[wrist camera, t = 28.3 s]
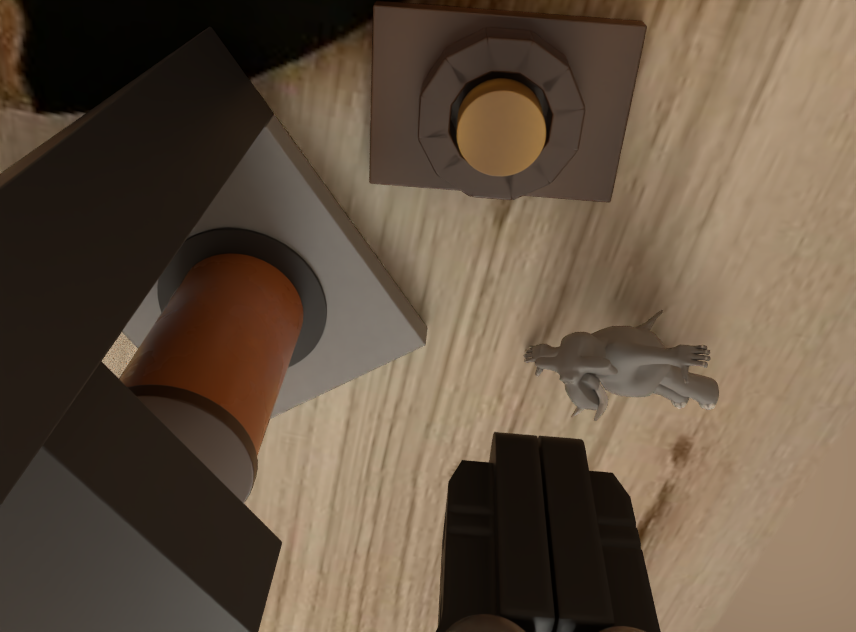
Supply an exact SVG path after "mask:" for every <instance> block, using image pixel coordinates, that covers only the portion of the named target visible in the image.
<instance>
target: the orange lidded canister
mask: <svg viewBox="0 0 856 632" xmlns="http://www.w3.org/2000/svg"><path fill="white" fill-rule="evenodd" d="M302 324H303V306H302V303H301V299H300V297H299V294H298V292H297V291H296V289H295V287H294V286H293V284H292V283H291V282H290V280H289V279H288V278H287V277H286V276H285V275H284V274H283V273H282V272H280V271H279V270H278V269H277V268H275V267H274V266H272V265H271V264H269V263H267V262H265V261H263V260H261V259H258V258H255V257H252V256H248V255H243V254H229V253H228V254H220V255H215V256H211V257H209V258H206V259H204V260H202V261H200V262H198V263H197V264H196V265H194V266H193V267H192V268H191V269H190V270H189V271H188V272H187V274H186V275H185V277H184V278H183V280H182V281H181V283H180V285H179V286H178V288H177V289H176V291H175V292H174V294H173V295H172V297H171V299H170V300H169V302H168V303H167V305H166V306H165V308H164V309H163V311H162V313H161V314H160V316H159V317H158V319H157V320H156V322H155V323H154V325H153V327H152V328H151V330H150V331H149V333H148V334H147V336H146V337H145V339H144V341H143V342H142V344H141V345H140V347H139V348H138V350H137V351H136V353H135V355H134V356H133V358H132V359H131V361H130V362H129V364H128V365H127V367H126V369H125V370H124V372H123V373H122V375H121V376H120V378H119V380H120V381H121V382H122V383H123V384H124V385H125V386H126V387H127V388H128V389H129V390H130V391H131V392H132V393H133V394H134V395H135V396H137V397H138V398H139V399H140V400H141V401H142V402H143V403H144V404H145V405H146V406H147V407H148V408H149V409H150V410H151V411H152V412H153V413H154V414H155V415H156V416H157V417H158V418H159V419H160V420H161V421H162V422H163V423H164V424H165V425H166V426H167V427H168V428H169V429H170V430H171V431H172V432H173V433H174V434H175V435H176V436H177V437H178V438H179V439H180V440H181V441H182V442H183V443H184V444H185V445H186V446H187V447H188V448H189V449H190V450H191V451H192V452H193V453H194V454H195V455H196V456H197V457H198V458H199V459H200V460H201V461H202V462H203V463H204V464H205V465H206V466H207V467H208V468H209V469H210V470H211V471H212V472H213V473H214V474H215V475H216V476H217V477H218V478H219V479H220V480H221V481H222V482H223V483H224V484H225V485H226V486H227V487H228V488H229V489H230V490H231V491H232V492H233V493H234V494H235V495H236V496H237V497H238V498H239V499H240V500H241V501H242V502H243V503H244V502H245V501H246V500H247V498H248V496H249V495H250V493H251V490H252V488H253V485H254V482H255V479H256V475H257V470H258V459H257V455H258V452H259V449H260V447H261V444H262V441H263V438H264V435H265V432H266V429H267V426H268V423H269V421H270V418H271V415H272V412H273V409H274V406H275V403H276V400H277V397H278V394H279V392H280V389H281V386H282V383H283V380H284V377H285V374H286V371H287V368H288V366H289V363H290V360H291V357H292V354H293V351H294V348H295V345H296V342H297V339H298V337H299V334H300V331H301V328H302Z"/></svg>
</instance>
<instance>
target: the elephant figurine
mask: <svg viewBox="0 0 856 632" xmlns="http://www.w3.org/2000/svg"><path fill="white" fill-rule="evenodd" d="M662 312H663V310H661V311H659V312H658V313H656V314H655V315H654V316H653V317H652V318H650V319H649V320H648V321H647V322H646V323H644V324H642V325H640V326H639V327H637V328H635V327H631V326H612V327H607V328H604V329H601V330H599V331H597V332H595V333H593V334H589V333H587V332H575V333H572V334H569V335H567V336H565V337H564V338H563V339H562V341H561V345H560V346H559V347H551V346H550V345H547V344H539V345H536V346H529V348H530V350H525V352H526V353H528V354H524V357H525V358H526V359H524V361H525V362H526V363H528V362H535V366H537V369H536V376H539V375H540V374H541V372H542V371H543V369H547V370H553V371H556V372H557V373H558V374H559V375H560V380H561V381H563V383H565V390H566V392H567V394H568V396H569V397H570V399H571V401H572V402H573V403H574V404H575V405H576V406H577V409H576V410H575V411H574V413H573V414H572V416H571V417H573V416H575V415H577V414H579V413H580V412H582V411H583V410H584V409H590V410H597V412H596V415H595V418H594V420H595V421H597V420H598V418H599V417H600V416H601V415H602V414H603V413H604V412H605V410H606V408H607V406H608V397H607V394H606V392H605V390H604V389H603V387H604V388H605V389H606V390H607V391H609V392H611V393H613V394H616V395H619V396H626V397H646V396H650V395H651V394H652V393H654V394H658V395H662V396H663V397H665V398H667V399H669V400H671V403H672V404H673V405H674V406H675V407H677V408H682V407H685V406H686V404H687V402H688V400H689V397H690V398H692V399H694V400H696V401H697V402H699V405H700V407H701V408H704V409H706V410H710V409H713V408H715V405H716V403H717V400H718V397H719V389H718V384H717V382H716V381H715V380H714V379H712V378H709V377H706V376H702V375H698V374H693V373H689V372H688V367H689V366H703V367H706V368H707V366H708V364H707V362H703V361H697V360H706V361H709V360H710V356H706V355H698V354H707V355H709V354H710V350H707V346H705V345H699V346H690V345H678V346H677V347H674V348H665V347H664V345H663V344H662V342H661V340H660V339H659V338H658V337H657V336H656V335H655V334H654V333H653V332H651V331H650V329H651V327H652V326H653V324H654V322H655V320H656V319H657V318H658V317H659V316H660V315H661V314H662ZM700 349H703V350H700ZM528 357H532V358H528ZM600 382H601V384H602V385H603V387H602V386H601V384H600Z"/></svg>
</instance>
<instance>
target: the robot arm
mask: <svg viewBox="0 0 856 632" xmlns="http://www.w3.org/2000/svg"><path fill="white" fill-rule="evenodd" d="M436 632H661V631H660V628H659V623H658V619H657V614H656V610H655V605H654V601H653V597H652V592H651V588H650V583H649V579H648V574H647V570H646V565H645V561H644V556H643V552H642V550H641V543H640V539H639V534H638V530H637V528H636V521H635V516H634V512H633V507H632V503H631V498H630V496H629V495H628V493H627V492H626V490H625V489H624V488H623V486H622V485H621V484H620V482H619V481H618V480H617V478H616V477H615V475H614V474H613V473H608V472H597V471H589V468H588V462H587V456H586V450H585V445H584V442H583V440H582V439H572V438H560V437H548V436H539V437H538V438H537V436H534V435H522V434H510V433H499V432H494V434H493V439H492V445H491V452H490V460H489V463H488V462H477V461H465V460H462V461H461V463H460V464H459V466H458V468H457V469H456V471H455V472H454V474H453V475H452V477H451V479H450V480H449V483H448V493H447V502H446V512H445V521H444V531H443V540H442V557H441V577H440V596H439V615H438V629H437V630H436Z"/></svg>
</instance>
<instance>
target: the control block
mask: <svg viewBox="0 0 856 632" xmlns="http://www.w3.org/2000/svg"><path fill="white" fill-rule="evenodd" d="M646 29H647V26H646V25H645V24H644V22H643V21H636V20H623V19H610V18H597V17H584V16H571V15H558V14H545V13H532V12H519V11H505V10H492V9H479V8H466V7H453V6H440V5H427V4H414V3H401V2H388V1H376V2H375V4H374V6H373V37H372V82H371V128H370V173H369V182H370V183H371V184H383V185H396V186H408V187H421V188H434V189H446V190H459V191H462V192H464V193H465V194H467V195H468V196H470V197H471V196H472V197H478V198H491V199H503V200H512V199H513V200H514V199H516V198H519V197H521V196H535V197H548V198H560V199H573V200H586V201H598V202H610V201H611V198H612V193H613V188H614V183H615V178H616V173H617V169H618V164H619V159H620V154H621V149H622V145H623V140H624V135H625V130H626V125H627V121H628V116H629V111H630V106H631V101H632V96H633V92H634V87H635V82H636V77H637V72H638V68H639V63H640V58H641V53H642V48H643V44H644V39H645V34H646ZM496 78H507V79H513V80H516V81H518V82H521V83H523V84H524V85H526V86H527V87H528V88H530V89H531V90H532V91H533V92H534V93H535V95H536V96H537V98H538V100H539V102H540V104H541V107H542V111H543V115H544V119H545V124H546V139H545V144H544V146H543V149H542V151H541V153H540V155H539V156H538V158H537V159H536V160H535V161H534V162H533V163H532V164H531V165H530V166H529V167H527V168H526V169H524V170H523V171H521V172H519V173H516V174H513V175H509V176H491V175H487V174H484V173H482V172H479V171H478V170H476V169H474V168H473V167H472V166H471V165H469V164H468V163H467V161H466V160H465V159H464V158H463V156H462V154H461V152H460V150H459V147H458V143H457V117H458V112H459V108H460V106H461V103H462V101H463V100H464V98H465V97H466V95H467V94H468V93H469V92H470V91H471V90H472V89H473V88H474V87H476V86H477V85H479V84H481V83H482V82H485V81H487V80H491V79H496Z"/></svg>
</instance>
